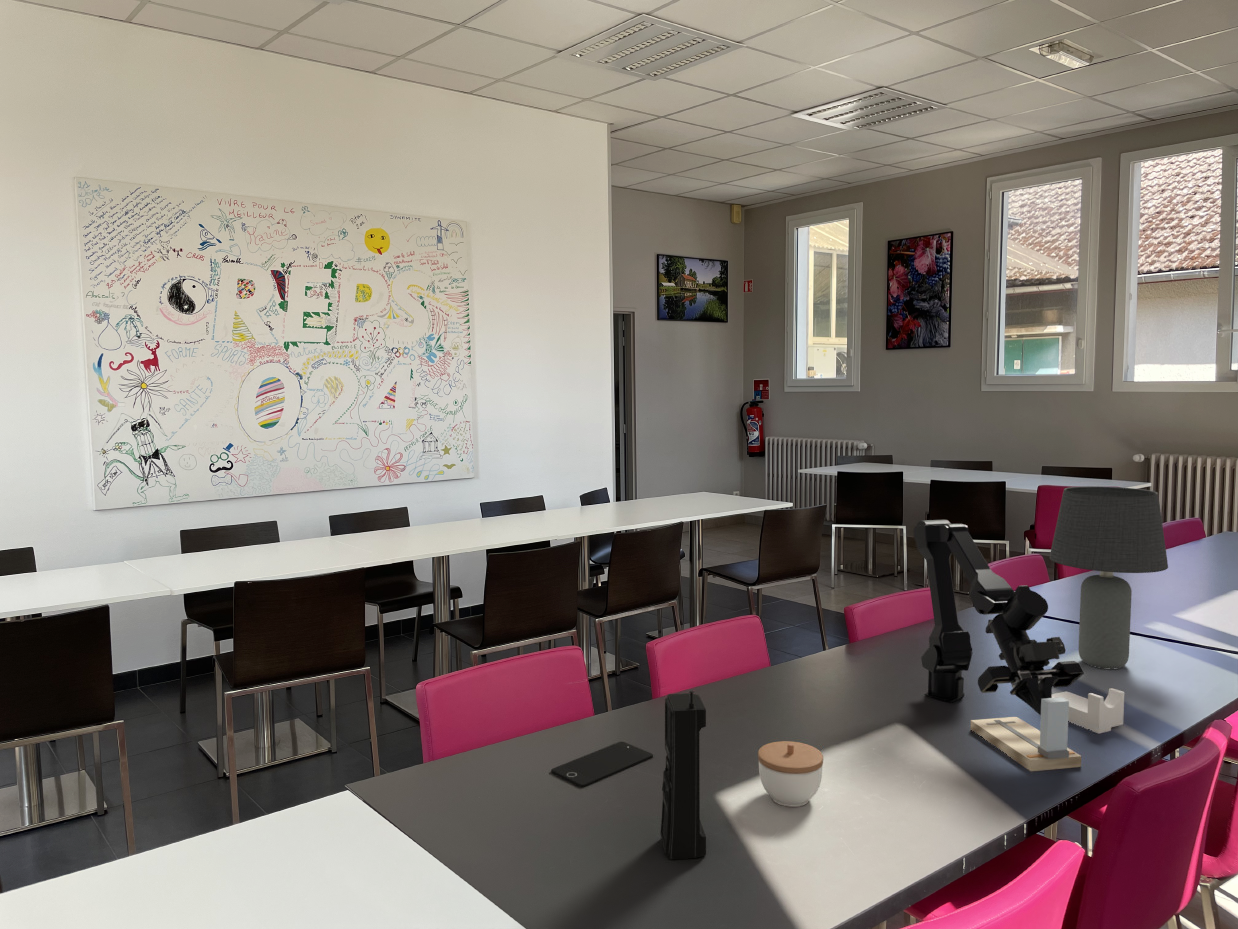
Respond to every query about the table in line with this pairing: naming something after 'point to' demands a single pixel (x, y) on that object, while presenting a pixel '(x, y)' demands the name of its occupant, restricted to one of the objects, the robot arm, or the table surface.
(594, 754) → the cell phone
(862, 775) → the table surface
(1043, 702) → the fader tab
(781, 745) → the lidded jar
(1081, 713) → the bracket
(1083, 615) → the lamp
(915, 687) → the table surface
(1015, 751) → the slider board
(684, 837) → the portable radio
